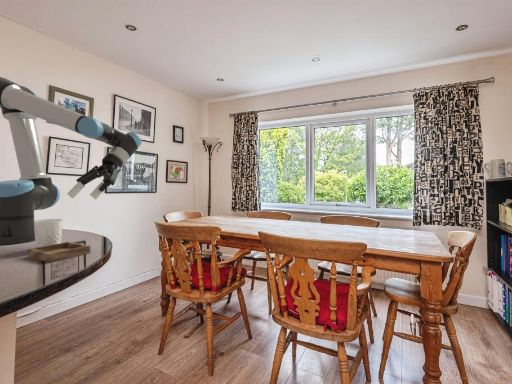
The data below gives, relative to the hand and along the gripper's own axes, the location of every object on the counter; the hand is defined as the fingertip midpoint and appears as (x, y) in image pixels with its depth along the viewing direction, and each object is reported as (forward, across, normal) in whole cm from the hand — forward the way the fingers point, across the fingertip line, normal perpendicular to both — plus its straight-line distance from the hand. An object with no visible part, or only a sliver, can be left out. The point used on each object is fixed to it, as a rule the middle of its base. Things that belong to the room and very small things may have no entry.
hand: (81, 196), depth 104 cm
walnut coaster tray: (+22, -10, -3) cm, 25 cm away
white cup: (+21, +1, -5) cm, 21 cm away
